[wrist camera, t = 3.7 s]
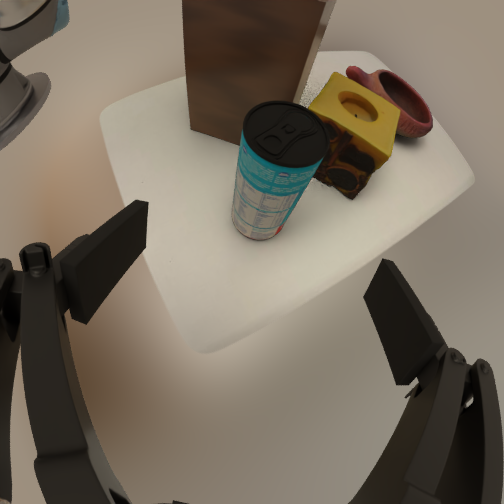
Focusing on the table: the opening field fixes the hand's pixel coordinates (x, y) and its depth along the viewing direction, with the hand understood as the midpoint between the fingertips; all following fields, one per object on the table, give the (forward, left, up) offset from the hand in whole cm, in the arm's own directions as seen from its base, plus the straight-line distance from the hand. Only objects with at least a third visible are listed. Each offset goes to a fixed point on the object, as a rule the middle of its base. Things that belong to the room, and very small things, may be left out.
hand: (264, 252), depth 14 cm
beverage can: (-2, +8, -15) cm, 17 cm away
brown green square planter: (-9, +22, -15) cm, 28 cm away
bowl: (+11, +35, -15) cm, 40 cm away
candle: (+4, +21, -15) cm, 27 cm away
